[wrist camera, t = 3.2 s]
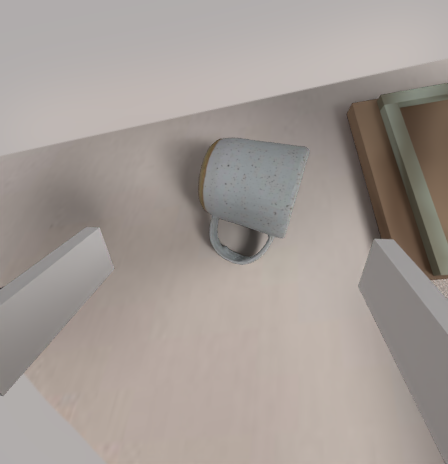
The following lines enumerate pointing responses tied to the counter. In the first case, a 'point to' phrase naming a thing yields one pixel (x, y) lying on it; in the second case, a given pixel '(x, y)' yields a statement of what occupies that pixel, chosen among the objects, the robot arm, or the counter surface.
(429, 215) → the board
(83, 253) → the robot arm
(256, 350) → the counter surface
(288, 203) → the ceramic mug
